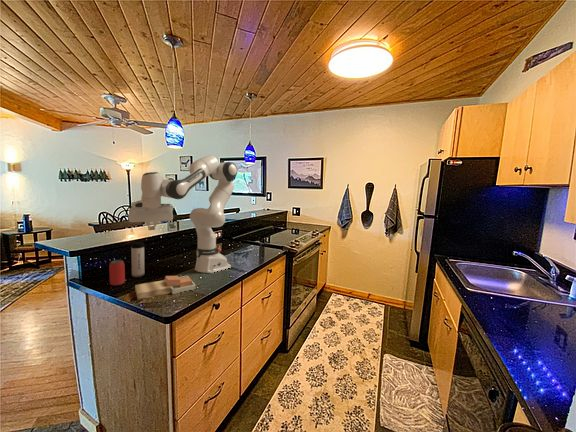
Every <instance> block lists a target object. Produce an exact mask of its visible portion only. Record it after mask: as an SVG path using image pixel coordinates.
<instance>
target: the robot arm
mask: <svg viewBox="0 0 576 432" xmlns="http://www.w3.org/2000/svg"><path fill="white" fill-rule="evenodd" d="M188 171H189V173H190V174H188V175H187V176H185V177H183V178H182V179H168V178H166V177H165V176H163V175H161V174H160V173H159V172H157V171H151V172H144V173H143V174H142V176H141V181H140V182H141V183H140V189H141V193H142V194H141V198H140V200H137V201H134V202H131V204H130V206H131V207H130V208H129V210H128V211H129V212H128V218H127V219H128V222H129V223H142V222H143V223H145V224H146V226H147V230H148V231H155V230H156V226H157V224H158V222H172V221H173V220H174V214H173V211H174V206H173V205H172V204H171V203H162V197H164V198H168V199H169V198H170V199H175V200H182V199H184V198H185V197H186V196H187V195H188V193H189V192H190V191H191V189H193V188H194V187H195V186H197V185H198V184H199V183H201V182H202V181H203V180H204V179H206V178H207V177H208V176H209V177H210V178H211V179H212V180H214V181H217V185H216V186H215V188H214V189H213V191H211V192H212V193H211V194H210V195H209V197H208V201H209V203H210V204H209V207H208V208H204V207H197V208H196V207H195V208H193V209H192V210H191V211H190V213H189V220H190V221H191V223H192V224H193V225H194V228H195V231H196V235H197V236H196V237H197V247H196V262H195V266H194V271H196V272H198V273H207V274H215V273H217V271H218V272H222V271H226V270H229V269H228V268H230V269H231V268H232V266H231V264H230V263H228V259H227V257H226V256H225V255H223V254H221V252H222V249H221V247H217V236H216V233H215V232H214V231H213V229H212V228H220V227H222V226H223V225H224V224H225V222H226V215H225V213H224V210H225V206H226V204H227V203H228V202H229V201H228V200H229V199H230V198H231V196H232V194H233V191H234V189H235V184H234V181H235V180H236V177H237V175H238V166H237V165H236V164H235V163H234V162H230V161H227V162H224V161H223V162H220V161H218V159H217V158H216V157H215V156H214V155H206V156H203V157H200V158H198V159H197V160H195V161H194V162H192V163H191V164H190V165H189V170H188ZM150 222H153V223H154V224H153V226H150V225H149V224H150ZM225 269H226V270H225ZM221 270H222V271H221ZM214 272H215V273H214Z"/></svg>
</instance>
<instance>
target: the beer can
mask: <svg viewBox="0 0 576 432" xmlns="http://www.w3.org/2000/svg"><path fill="white" fill-rule="evenodd" d="M108 267H109V272H108V273H109V285H111V286H120V285H122V284H125V282H126V271H125V269H126V268H125V267H126V266H125V262H124V260H123V259H115V260H112V261H110V262H109V266H108Z"/></svg>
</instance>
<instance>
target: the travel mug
mask: <svg viewBox="0 0 576 432" xmlns="http://www.w3.org/2000/svg"><path fill="white" fill-rule="evenodd" d="M130 246H131V247H130V248H131V249H130V250H131V277H133V278H139V277H143V276H144V275H145V242H144V241H142V240H131V241H130Z"/></svg>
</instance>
